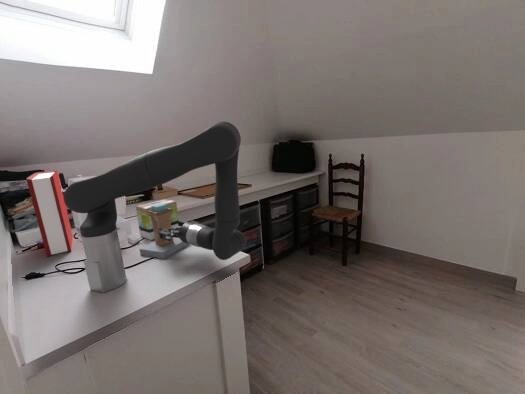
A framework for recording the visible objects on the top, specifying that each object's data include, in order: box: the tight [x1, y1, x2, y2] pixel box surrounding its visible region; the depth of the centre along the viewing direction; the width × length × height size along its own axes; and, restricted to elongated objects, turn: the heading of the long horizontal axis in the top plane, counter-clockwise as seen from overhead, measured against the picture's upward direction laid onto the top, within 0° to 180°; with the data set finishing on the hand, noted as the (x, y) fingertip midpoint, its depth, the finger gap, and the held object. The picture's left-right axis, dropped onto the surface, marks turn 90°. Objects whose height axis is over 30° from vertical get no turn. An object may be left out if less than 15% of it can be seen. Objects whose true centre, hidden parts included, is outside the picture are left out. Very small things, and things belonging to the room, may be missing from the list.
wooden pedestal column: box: [147, 208, 174, 247], centre depth 106 cm, size 6×6×14 cm
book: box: [26, 170, 73, 258], centre depth 118 cm, size 27×8×32 cm, turn 34°
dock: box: [139, 237, 189, 260], centre depth 108 cm, size 14×12×2 cm
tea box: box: [135, 199, 180, 241], centre depth 126 cm, size 15×10×15 cm, turn 143°
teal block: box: [151, 204, 167, 213], centre depth 105 cm, size 4×4×3 cm
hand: (169, 226), depth 103 cm, fingers open, 8 cm apart
